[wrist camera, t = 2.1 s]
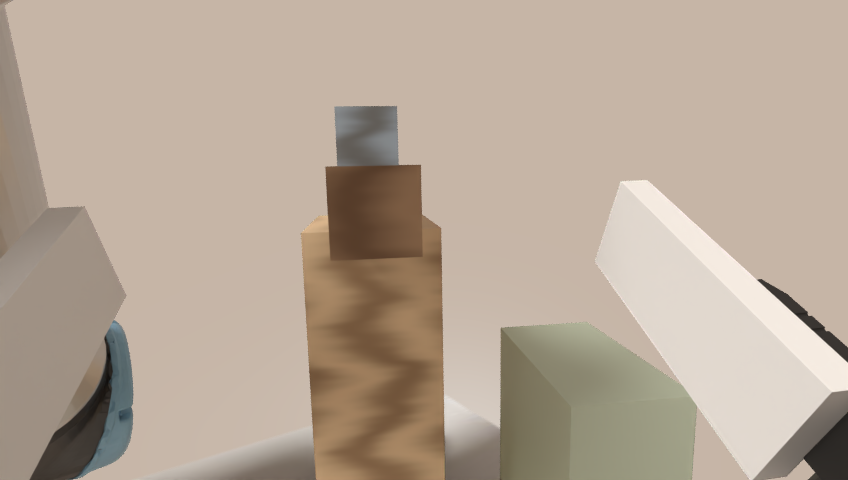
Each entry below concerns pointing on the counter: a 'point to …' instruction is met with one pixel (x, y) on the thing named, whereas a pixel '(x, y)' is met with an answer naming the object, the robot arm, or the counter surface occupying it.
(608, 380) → the sage green upright block
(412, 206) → the beam
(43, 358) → the robot arm
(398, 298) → the oak stand
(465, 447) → the counter surface
